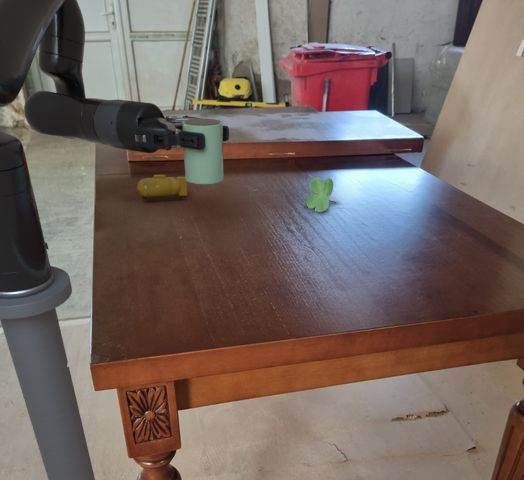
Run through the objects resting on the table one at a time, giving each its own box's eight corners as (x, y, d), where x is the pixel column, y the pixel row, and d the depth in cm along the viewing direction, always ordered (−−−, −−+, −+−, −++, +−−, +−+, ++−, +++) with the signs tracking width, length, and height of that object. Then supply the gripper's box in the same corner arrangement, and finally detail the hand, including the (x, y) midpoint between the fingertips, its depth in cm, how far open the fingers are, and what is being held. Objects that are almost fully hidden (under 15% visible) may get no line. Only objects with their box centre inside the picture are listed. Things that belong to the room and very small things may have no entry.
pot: (187, 185, 81) (183, 126, 76) (183, 174, 86) (180, 118, 81) (226, 183, 82) (225, 125, 78) (220, 172, 87) (219, 117, 83)
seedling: (326, 229, 111) (308, 219, 106) (317, 197, 114) (300, 186, 109) (354, 212, 107) (338, 201, 102) (345, 180, 109) (328, 167, 104)
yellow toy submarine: (138, 202, 109) (135, 178, 106) (138, 196, 112) (135, 173, 109) (188, 200, 111) (186, 176, 108) (186, 194, 114) (185, 171, 111)
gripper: (95, 106, 79) (187, 118, 72) (154, 95, 89) (239, 104, 83) (102, 158, 83) (190, 173, 76) (158, 141, 94) (239, 154, 87)
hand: (216, 137), depth 80 cm, fingers closed on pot, 6 cm apart
